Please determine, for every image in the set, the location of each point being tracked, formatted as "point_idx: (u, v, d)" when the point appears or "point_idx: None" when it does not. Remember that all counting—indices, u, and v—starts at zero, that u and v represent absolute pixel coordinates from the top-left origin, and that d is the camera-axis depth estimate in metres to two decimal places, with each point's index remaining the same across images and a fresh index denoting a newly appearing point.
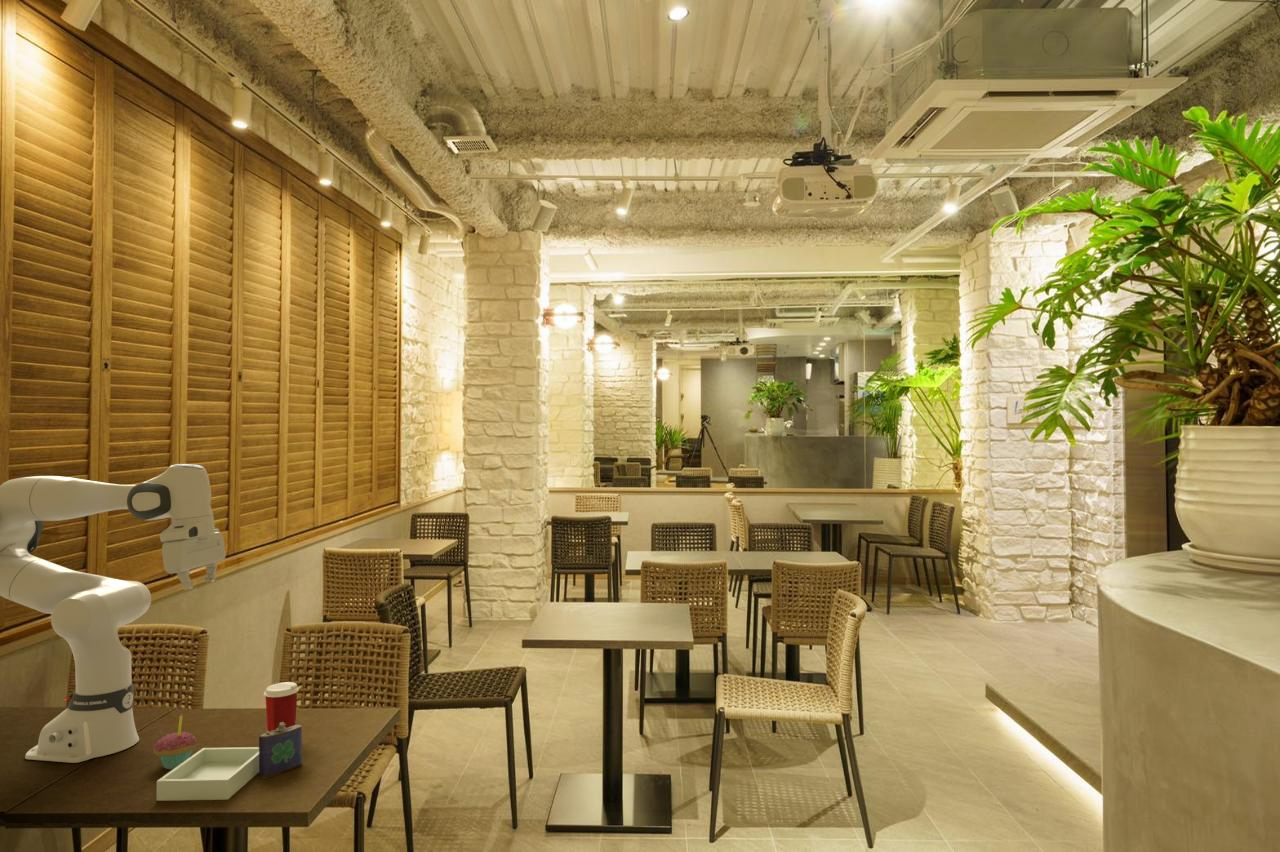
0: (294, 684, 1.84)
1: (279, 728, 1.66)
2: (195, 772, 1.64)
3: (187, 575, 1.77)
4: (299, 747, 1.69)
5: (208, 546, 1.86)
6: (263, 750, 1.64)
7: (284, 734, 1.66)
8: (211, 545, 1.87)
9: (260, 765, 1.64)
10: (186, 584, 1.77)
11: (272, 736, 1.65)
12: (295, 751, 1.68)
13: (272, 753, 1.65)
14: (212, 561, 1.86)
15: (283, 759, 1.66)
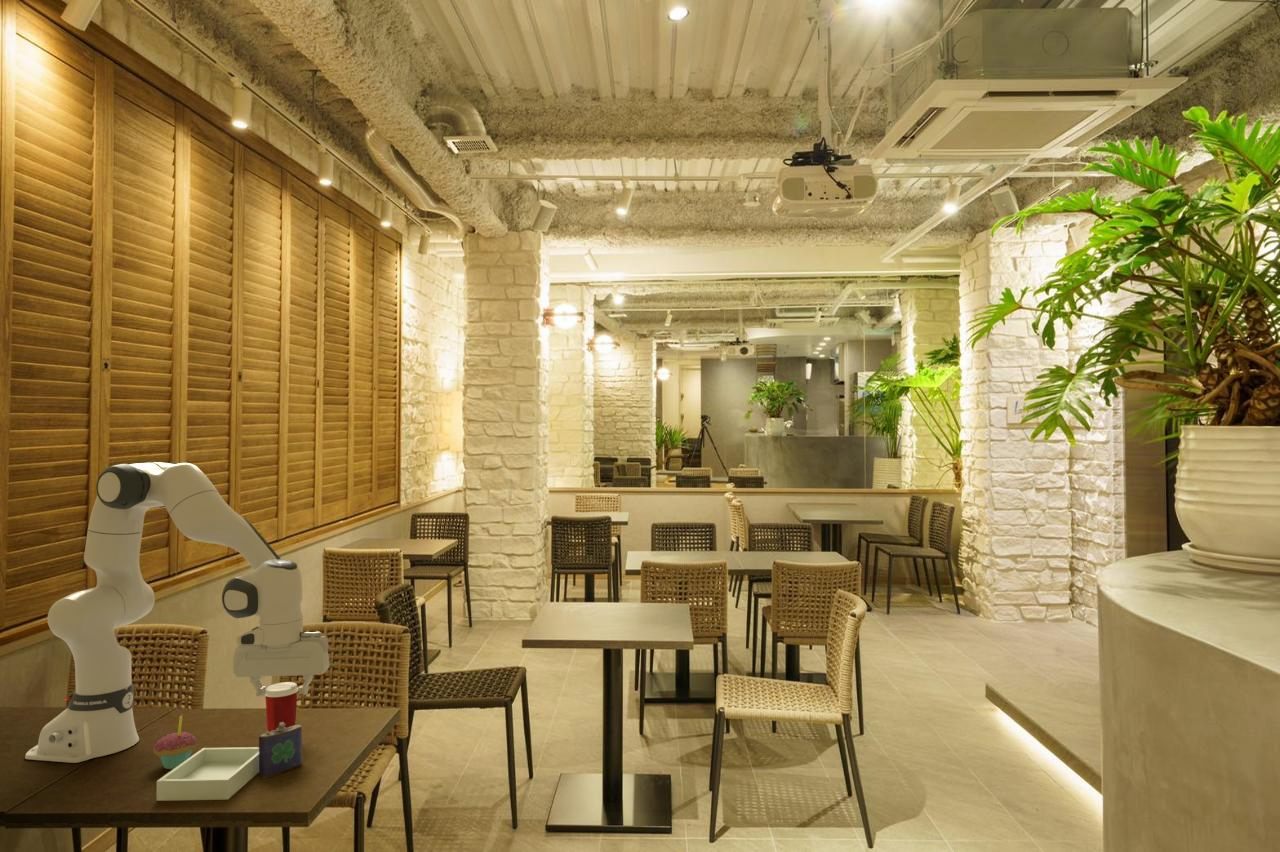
0: (294, 684, 1.84)
1: (279, 728, 1.66)
2: (195, 772, 1.64)
3: (252, 681, 1.66)
4: (299, 747, 1.69)
5: (290, 656, 1.66)
6: (263, 750, 1.64)
7: (284, 734, 1.66)
8: (296, 655, 1.66)
9: (260, 765, 1.64)
10: None
11: (272, 736, 1.65)
12: (295, 751, 1.68)
13: (272, 753, 1.65)
14: (293, 673, 1.66)
15: (283, 759, 1.66)
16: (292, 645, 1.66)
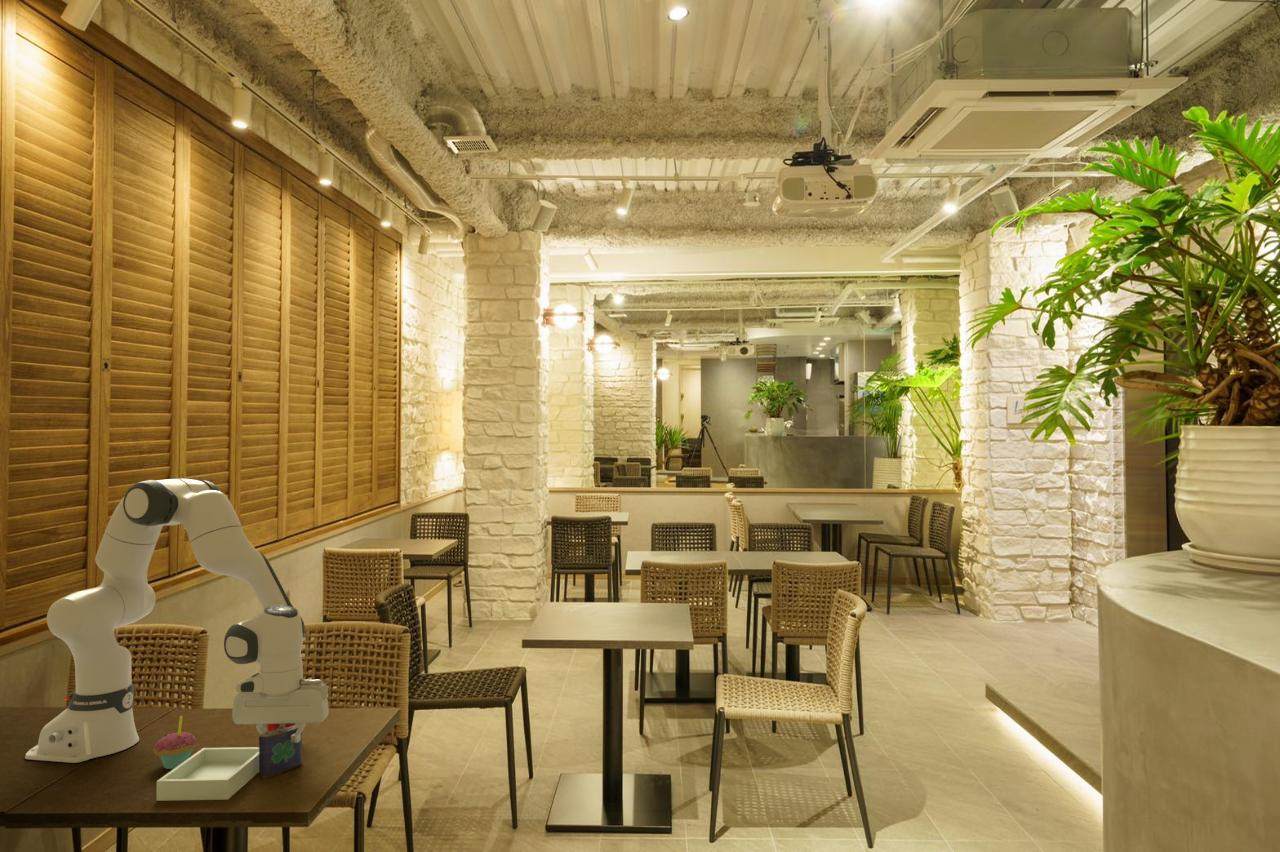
0: None
1: (279, 728, 1.66)
2: (195, 772, 1.64)
3: (258, 728, 1.66)
4: (299, 747, 1.69)
5: (290, 704, 1.66)
6: (263, 750, 1.64)
7: (284, 734, 1.66)
8: (296, 703, 1.66)
9: (260, 765, 1.64)
10: None
11: (272, 736, 1.65)
12: (296, 751, 1.68)
13: (272, 753, 1.65)
14: (293, 721, 1.66)
15: (283, 759, 1.66)
16: (292, 693, 1.66)
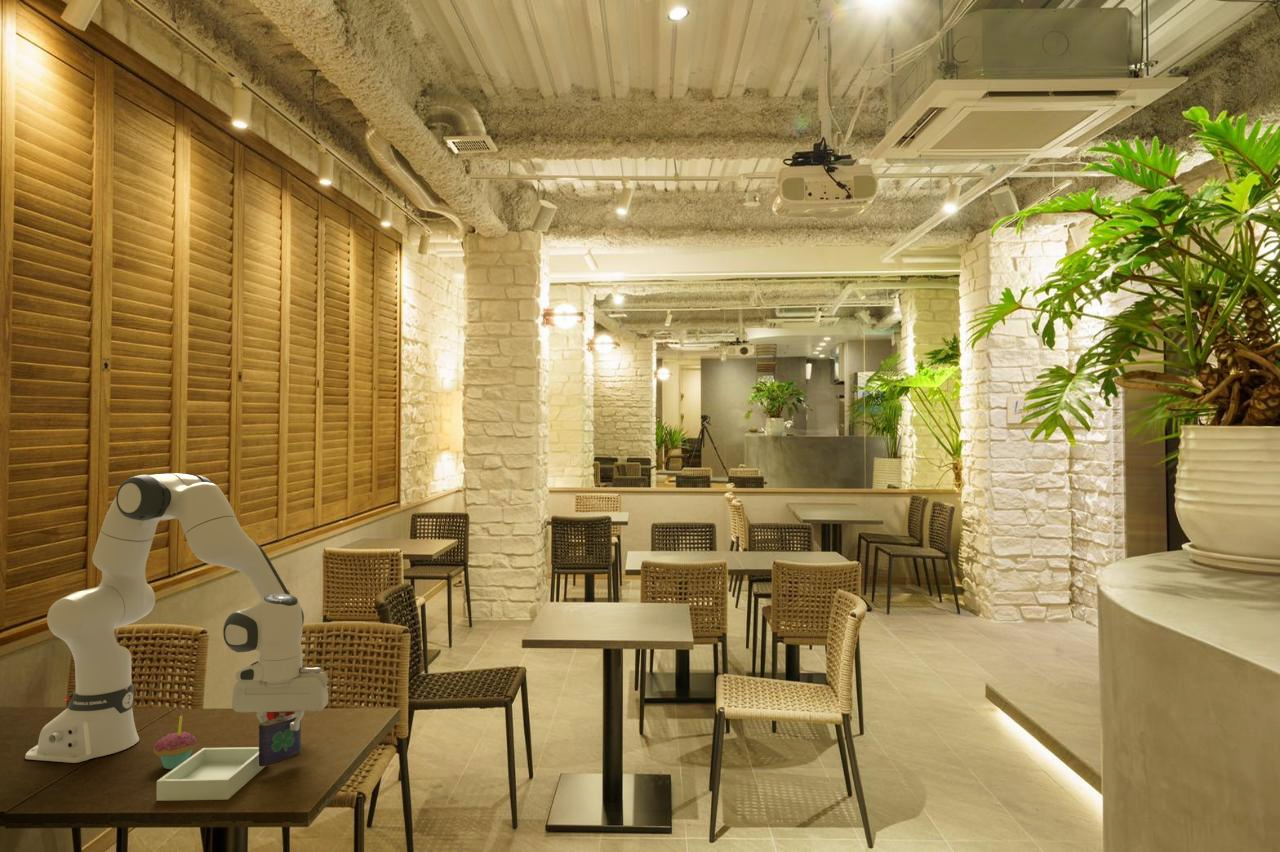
0: None
1: (279, 717, 1.67)
2: (195, 772, 1.64)
3: (258, 716, 1.66)
4: (298, 736, 1.69)
5: (290, 692, 1.66)
6: (263, 739, 1.64)
7: (284, 723, 1.66)
8: (296, 691, 1.66)
9: (260, 753, 1.64)
10: None
11: (272, 725, 1.65)
12: (295, 740, 1.69)
13: (272, 742, 1.65)
14: (292, 709, 1.66)
15: (283, 747, 1.66)
16: (291, 681, 1.66)
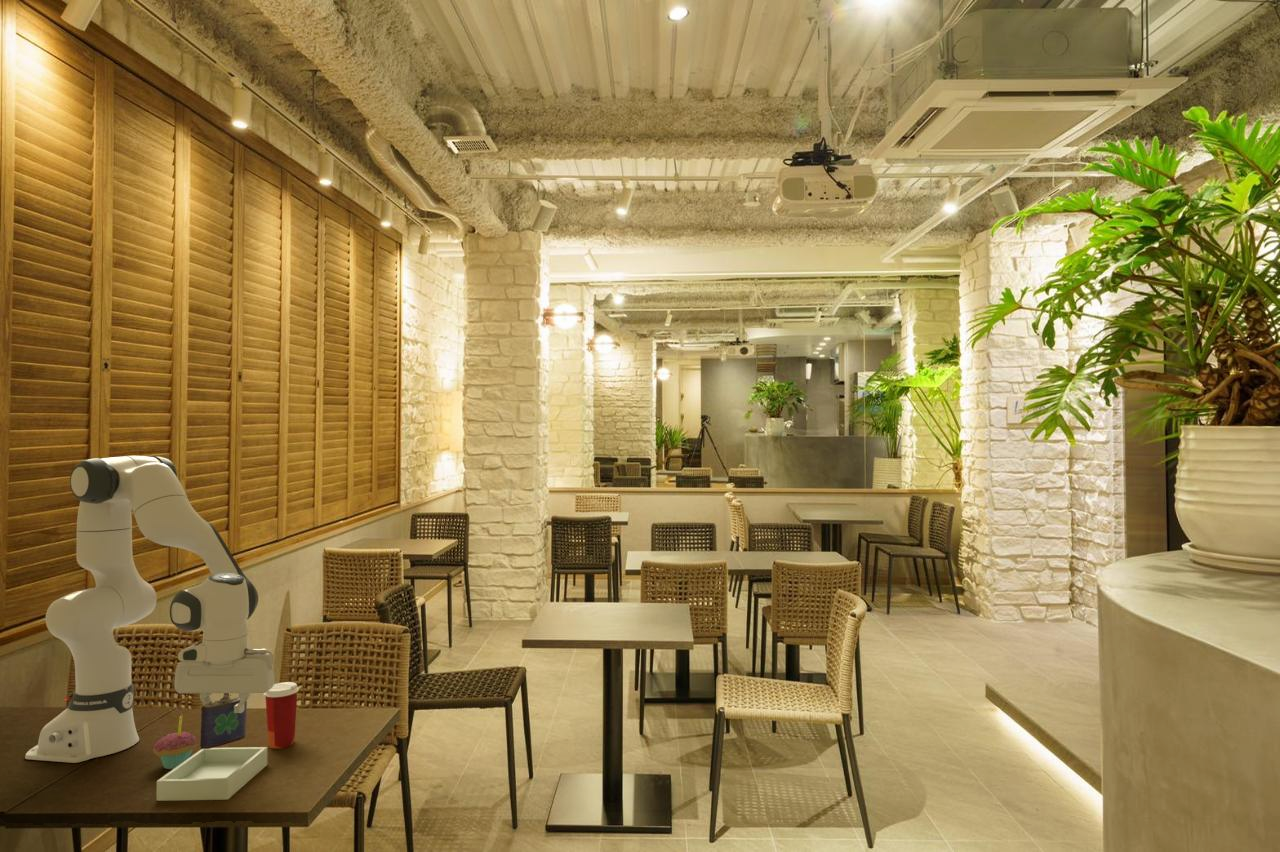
0: (294, 684, 1.84)
1: (223, 699, 1.63)
2: (195, 772, 1.64)
3: (201, 698, 1.62)
4: (243, 719, 1.65)
5: (234, 673, 1.62)
6: (206, 720, 1.60)
7: (228, 705, 1.63)
8: (240, 673, 1.62)
9: (202, 736, 1.60)
10: None
11: (216, 706, 1.61)
12: (239, 723, 1.65)
13: (215, 724, 1.61)
14: (236, 691, 1.62)
15: (226, 730, 1.62)
16: (236, 662, 1.62)
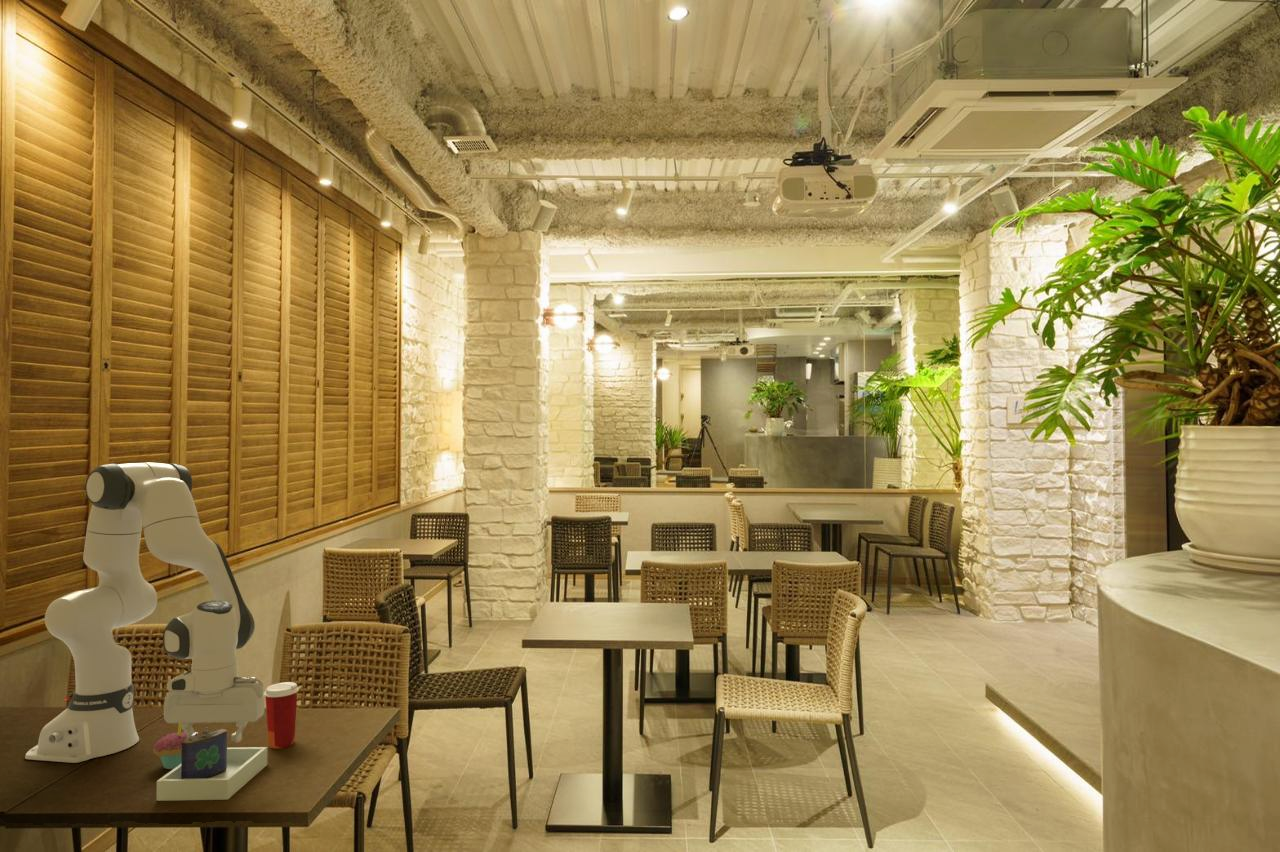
0: (294, 684, 1.84)
1: (203, 733, 1.61)
2: None
3: (183, 728, 1.61)
4: (224, 752, 1.64)
5: (223, 702, 1.61)
6: (186, 756, 1.58)
7: (209, 739, 1.61)
8: (229, 702, 1.61)
9: (182, 772, 1.58)
10: None
11: (196, 742, 1.59)
12: (220, 756, 1.63)
13: (196, 759, 1.59)
14: (226, 720, 1.60)
15: (207, 765, 1.61)
16: (225, 691, 1.61)
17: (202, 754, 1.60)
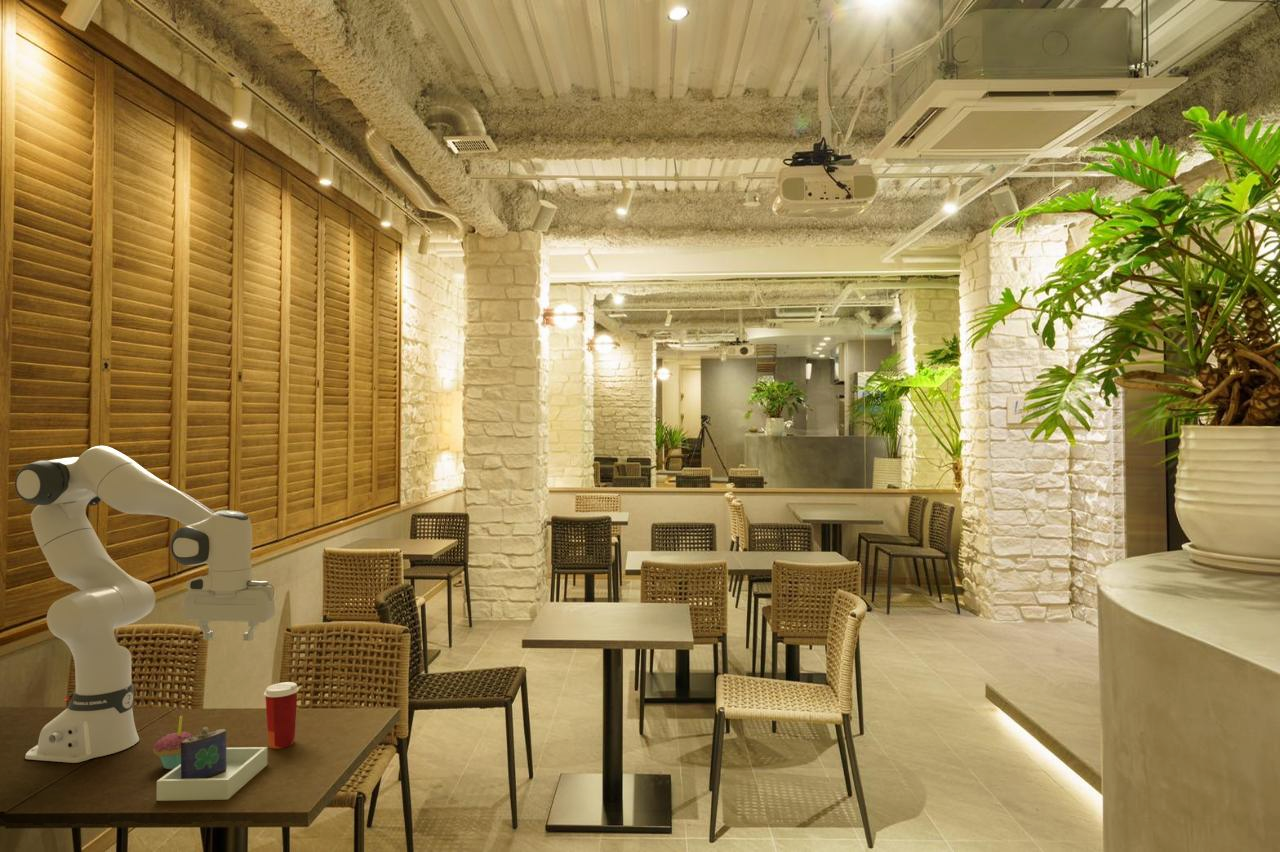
0: (294, 684, 1.84)
1: (202, 733, 1.61)
2: None
3: (200, 625, 1.74)
4: (223, 752, 1.64)
5: (237, 603, 1.73)
6: (185, 756, 1.58)
7: (208, 739, 1.61)
8: (243, 602, 1.73)
9: (182, 772, 1.58)
10: None
11: (195, 741, 1.59)
12: (220, 756, 1.64)
13: (195, 759, 1.59)
14: (239, 620, 1.73)
15: (207, 765, 1.61)
16: (239, 592, 1.73)
17: (201, 754, 1.60)
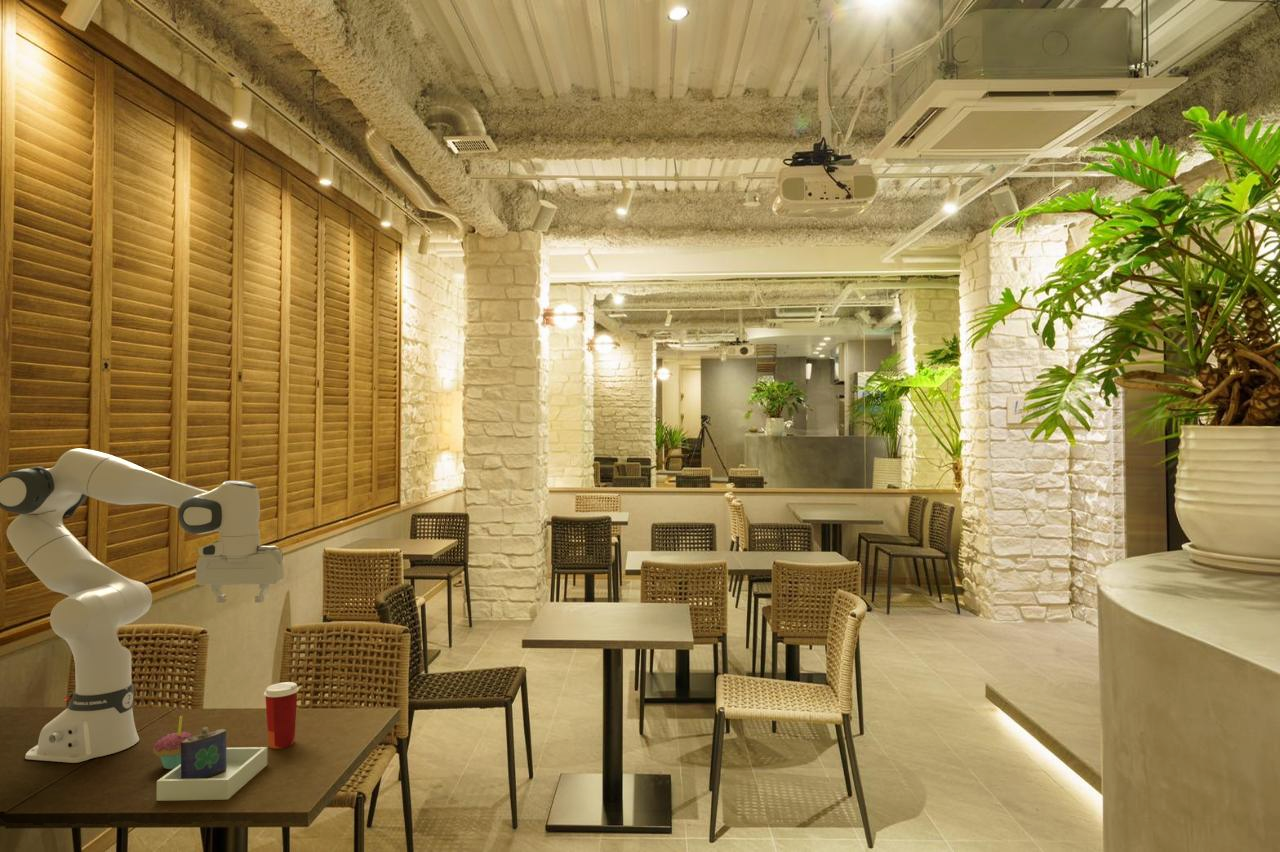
0: (294, 684, 1.84)
1: (202, 733, 1.61)
2: None
3: (213, 589, 1.83)
4: (223, 752, 1.64)
5: (248, 566, 1.83)
6: (185, 756, 1.58)
7: (208, 739, 1.61)
8: (253, 566, 1.83)
9: (182, 772, 1.58)
10: None
11: (195, 741, 1.59)
12: (220, 756, 1.64)
13: (195, 759, 1.59)
14: (250, 582, 1.83)
15: (207, 765, 1.61)
16: (249, 557, 1.83)
17: (201, 754, 1.60)
